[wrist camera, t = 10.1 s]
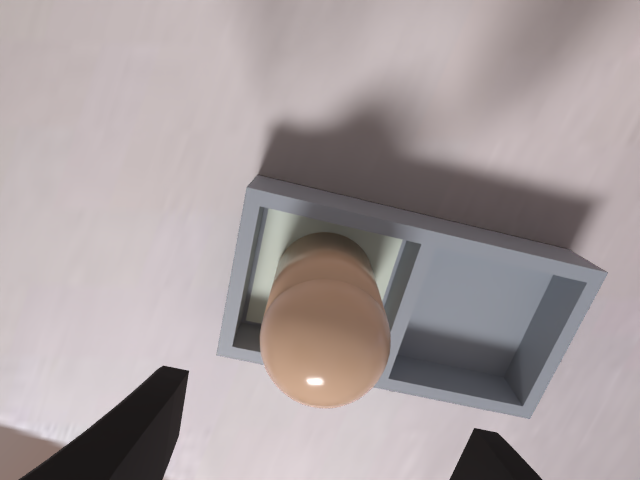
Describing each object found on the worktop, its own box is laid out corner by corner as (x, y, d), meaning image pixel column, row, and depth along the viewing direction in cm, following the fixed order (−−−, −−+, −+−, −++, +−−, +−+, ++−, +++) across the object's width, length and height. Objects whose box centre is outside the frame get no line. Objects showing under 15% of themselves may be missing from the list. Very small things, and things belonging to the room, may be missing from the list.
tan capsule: (384, 243, 17) (422, 332, 11) (358, 328, 19) (378, 451, 12) (286, 222, 17) (263, 299, 10) (268, 309, 18) (237, 426, 12)
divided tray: (569, 249, 18) (607, 272, 16) (504, 381, 20) (529, 418, 18) (257, 174, 17) (246, 187, 14) (229, 323, 19) (216, 355, 17)
